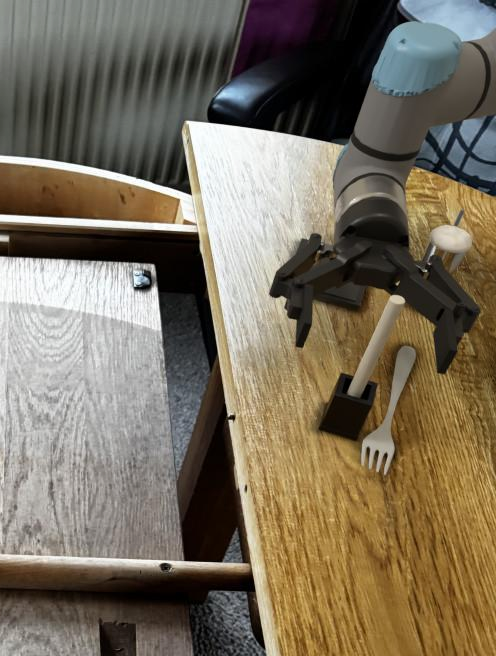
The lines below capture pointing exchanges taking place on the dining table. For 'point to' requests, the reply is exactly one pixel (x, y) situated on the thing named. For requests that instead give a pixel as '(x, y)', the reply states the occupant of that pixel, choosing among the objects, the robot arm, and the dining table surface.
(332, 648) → the dining table surface
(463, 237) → the milkshake
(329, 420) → the pen stand
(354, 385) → the stylus
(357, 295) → the tablet
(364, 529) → the dining table surface
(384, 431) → the fork
